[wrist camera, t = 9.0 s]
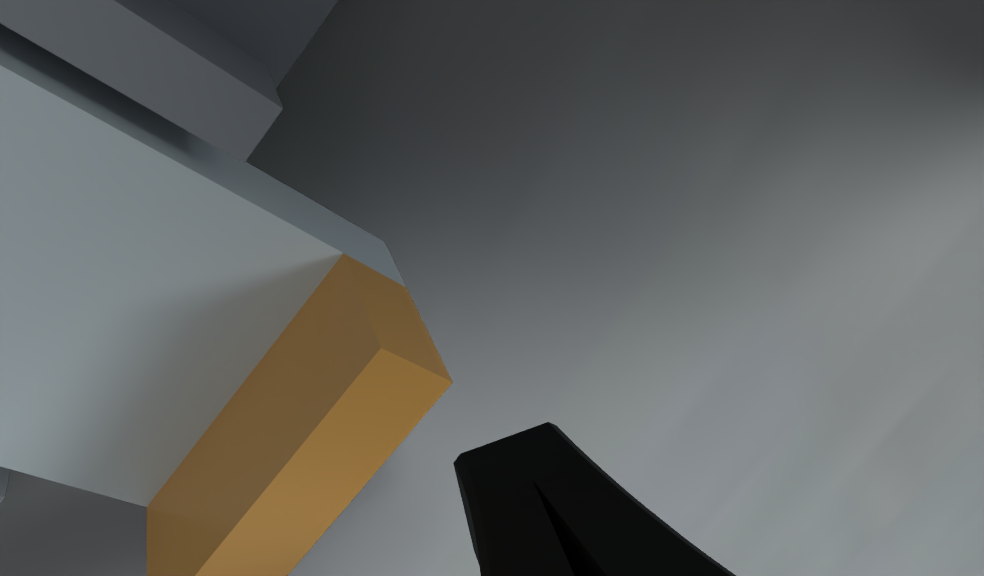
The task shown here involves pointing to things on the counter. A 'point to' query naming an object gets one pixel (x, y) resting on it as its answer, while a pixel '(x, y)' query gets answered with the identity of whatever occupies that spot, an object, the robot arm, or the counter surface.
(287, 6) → the housing
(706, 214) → the counter surface
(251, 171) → the lid
